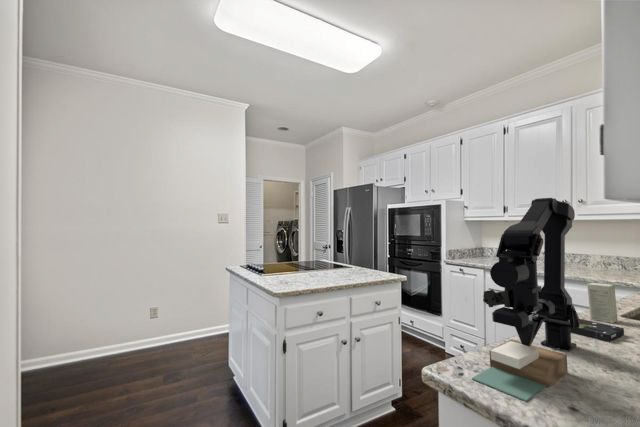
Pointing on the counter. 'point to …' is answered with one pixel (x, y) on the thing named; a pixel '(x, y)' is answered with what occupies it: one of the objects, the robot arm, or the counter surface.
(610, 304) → the skincare box
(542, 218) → the robot arm
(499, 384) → the mat
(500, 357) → the cream rectangular block
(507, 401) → the counter surface
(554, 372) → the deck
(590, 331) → the disk drive
